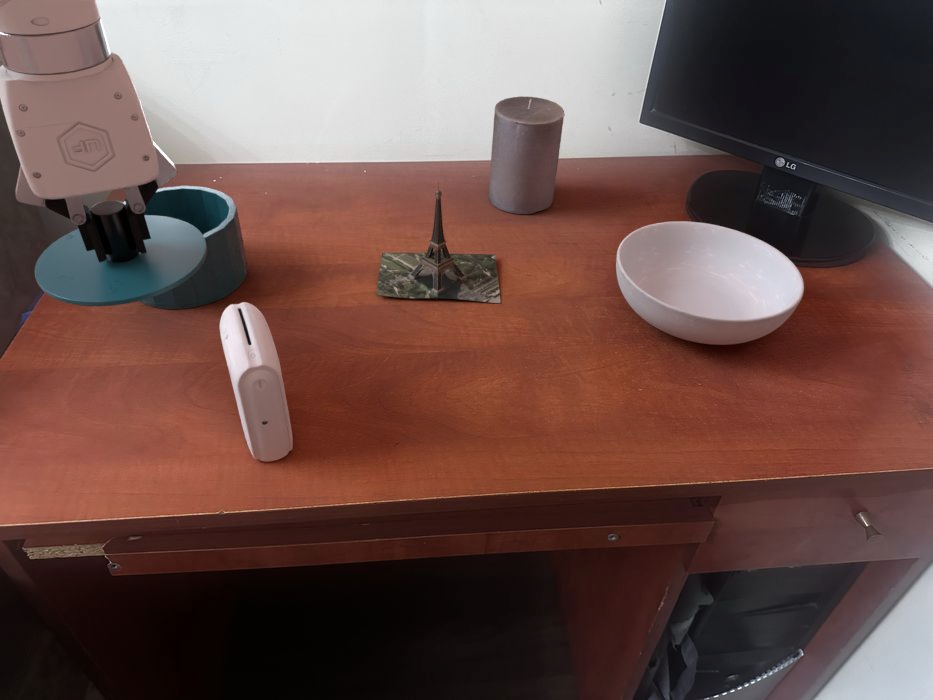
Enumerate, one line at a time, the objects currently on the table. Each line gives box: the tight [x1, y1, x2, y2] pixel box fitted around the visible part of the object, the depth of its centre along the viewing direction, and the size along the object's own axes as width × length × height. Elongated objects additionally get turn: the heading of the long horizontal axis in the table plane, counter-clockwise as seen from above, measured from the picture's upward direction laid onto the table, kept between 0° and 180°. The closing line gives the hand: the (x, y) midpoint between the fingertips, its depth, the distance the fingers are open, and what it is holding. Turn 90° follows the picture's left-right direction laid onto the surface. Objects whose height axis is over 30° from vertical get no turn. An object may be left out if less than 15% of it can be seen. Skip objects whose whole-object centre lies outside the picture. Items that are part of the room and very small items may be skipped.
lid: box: [34, 199, 207, 307], centre depth 65 cm, size 15×15×6 cm
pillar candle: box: [488, 95, 566, 215], centre depth 101 cm, size 10×10×15 cm
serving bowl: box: [615, 220, 805, 346], centre depth 83 cm, size 21×21×7 cm
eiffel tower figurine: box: [375, 182, 502, 304], centre depth 84 cm, size 15×10×13 cm
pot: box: [122, 185, 248, 310], centre depth 85 cm, size 14×14×8 cm
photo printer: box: [219, 301, 294, 463], centre depth 65 cm, size 10×4×12 cm, turn 23°
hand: (121, 248), depth 66 cm, fingers closed on lid, 2 cm apart
